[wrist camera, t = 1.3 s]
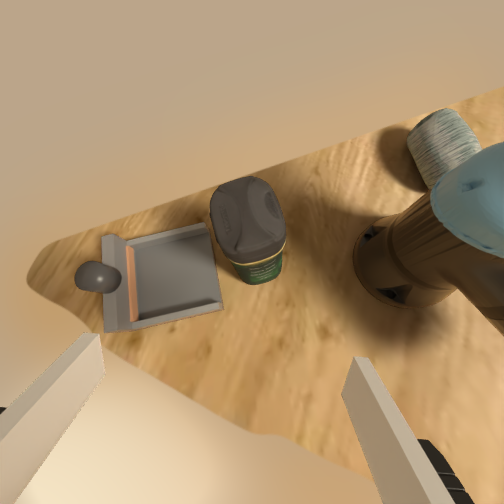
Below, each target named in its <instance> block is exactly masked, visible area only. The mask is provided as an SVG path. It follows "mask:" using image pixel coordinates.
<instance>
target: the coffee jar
mask: <svg viewBox="0 0 504 504" xmlns="http://www.w3.org/2000/svg"><path fill="white" fill-rule="evenodd" d="M210 218H211V221H212V225H213V229H214V232H215V237H216V240H217V242H218V243H219V245H220V247H221V249H222V251H223V253H224V254H225V256H226V257H227V258H228V259H229V260H230V261H231V262H232V264H233V266H234V267H235V269H236V271H237V272H238V274H239V276H240V277H241V279H242V280H243V281H244V282H245V283H247V284H250V285H258V284H262V283H266V282H269V281H271V280H273V279H275V278H276V277H277V276H278V275H279V274H280V272H281V267H282V251H283V247H284V245H285V242H286V225H285V220H284V217H283V213H282V210H281V207H280V205H279V202H278V200H277V198H276V196H275V194H274V191H273V189H272V188H271V187H270V185H269V184H268V183H266V182H265V181H263V180H262V179H260V178H257V177H253V176H248V177H244V178H240V179H236V180H233V181H230V182H227V183H224V184H222V185H220V186H219V187H218V188H217V189H216V190H215V192H214V193H213V195H212V197H211V200H210Z"/></svg>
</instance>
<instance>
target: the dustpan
mask: <svg viewBox="0 0 504 504" xmlns="http://www.w3.org/2000/svg"><path fill="white" fill-rule="evenodd" d="M101 240H102V263H99V262H96V261H88V262H86V263H84V264H82V265H81V266H80V267H79V268H78V270H77V271H76V274H75V284H76V286H77V287H78V288H79V289H81V290H86V291H92V292H98V293H103V313H104V333H114V332H128V331H135V330H140V329H144V328H148V327H152V326H157V325H161V324H165V323H169V322H174V321H178V320H182V319H186V318H191V317H195V316H199V315H203V314H208V313H212V312H216V311H220V310H224V307H223V302H222V296H221V291H220V285H219V280H218V274H217V269H216V263H215V257H214V252H213V246H212V241H211V235H210V230H209V228H208V227H207V225H206V224H205V222H202V223H198V224H194V225H189V226H185V227H181V228H177V229H173V230H169V231H165V232H161V233H157V234H153V235H149V236H144V237H140V238H136V239H132V240H128V241H126V240H124V239H122V238H120V237H119V236H117V235H115V234H110V235H106V236H102V237H101Z"/></svg>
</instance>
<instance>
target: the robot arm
mask: <svg viewBox="0 0 504 504" xmlns="http://www.w3.org/2000/svg"><path fill="white" fill-rule="evenodd" d="M353 263H354V268H355V271H356V274H357V276H358V278H359V280H360V282H361V283H362V285H363V286H364V287H365V288H366V289H367V290H368V291H369V292H370V293H371V294H372V295H373V296H374V297H376V298H377V299H379V300H380V301H382V302H384V303H386V304H389V305H392V306H395V307H400V308H420V307H426V306H430V305H433V304H436V303H438V302H440V301H442V300H443V299H445V298H446V297H447V296H449V295H450V294H451V293H453V292H454V291H455V290H456V289H459V290H460V291H461V292H462V293H463V294H464V295H465V296H466V298H467V299H468V300H469V301H470V302H471V303H472V304H473V305H474V306H475V307H476V308H477V309H478V310H479V311H480V312H481V313H482V314H483V315H484V316H485V317H486V318H487V319H488V321H489V322H490V323H491V324H492V325H493V326H494V327H495V328H496V329H497V330H498V331H499V332H500V333H501V334H502V335H503V336H504V142H501V143H498V144H495V145H492V146H490V147H487V148H485V149H483V150H481V151H479V152H478V153H476V154H474V155H473V156H471V157H470V158H469V159H467V160H466V161H465V162H463V163H462V164H461V165H459V166H458V167H456V168H454V169H452V170H450V171H449V172H447V173H446V174H444V175H443V176H442V177H441V178H440V179H439V180H438V181H437V182H436V184H435V185H434V187H433V188H432V189H430V190H429V191H428V192H427V193H426V194H424V195H423V196H422V197H421V198H420V199H418V200H417V201H416V202H415V203H413V204H412V205H411V206H410V207H409V208H407V209H406V210H405V211H404V212H403V213H399V214H396V215H392V216H388V217H385V218H382V219H380V220H378V221H376V222H374V223H373V224H371V225H370V226H369V227H368V228H367V229H366V230H365V231H364V232H363V233H362V234H361V235H360V237H359V238H358V240H357V242H356V244H355V247H354V252H353ZM104 376H105V368H104V362H103V355H102V348H101V342H100V335H99V334H95V333H83V334H82V335H81V336H80V337H79V338H78V339H77V340H76V341H75V342H74V343H73V344H72V345H71V346H70V347H69V348H68V349H67V350H66V351H65V352H64V353H63V354H62V355H61V356H60V357H58V359H57V360H55V361H54V362H53V363H52V364H51V365H50V366H49V367H48V368H47V369H46V370H45V371H44V372H43V373H42V374H41V375H40V376H39V377H38V378H37V379H36V380H35V381H34V382H33V383H32V384H31V385H30V386H29V387H28V388H27V389H26V390H25V391H24V392H23V393H22V394H21V395H20V396H19V397H18V398H17V399H16V400H15V401H14V402H13V403H12V404H11V405H10V406H9V407H8V408H4V407H0V504H14V503H15V502H16V500H17V499H18V497H19V496H20V495H21V493H22V492H23V490H24V489H25V487H26V486H27V485H28V483H29V482H30V480H31V479H32V478H33V476H34V475H35V473H36V472H37V471H38V469H39V468H40V466H41V465H42V464H43V462H44V461H45V459H46V458H47V456H48V455H49V454H50V452H51V451H52V449H53V448H54V446H55V445H56V444H57V442H58V441H59V440H60V438H61V437H62V435H63V434H64V432H65V431H66V430H67V428H68V427H69V425H70V424H71V423H72V421H73V419H74V418H75V417H76V416H77V414H78V413H79V411H80V410H81V408H82V407H83V406H84V404H85V403H86V401H87V400H88V399H89V397H90V396H91V394H92V393H93V392H94V390H95V389H96V387H97V386H98V385H99V383H100V382H101V380H102V379H103V377H104ZM341 395H342V398H343V400H344V403H345V405H346V408H347V411H348V413H349V416H350V418H351V421H352V424H353V426H354V429H355V432H356V434H357V437H358V439H359V442H360V445H361V447H362V450H363V452H364V455H365V458H366V460H367V463H368V465H369V468H370V471H371V473H372V476H373V478H374V481H375V484H376V486H377V488H378V491H379V494H380V497H381V499H382V502H383V504H474V502H473V501H472V499H471V497H470V496H469V494H468V493H466V492H465V488H464V487H463V485H462V484H461V482H460V481H459V479H458V478H457V477H456V476H455V473H454V472H453V470H452V468H451V467H450V465H449V464H448V462H447V461H446V459H445V458H444V456H443V455H442V454H441V453H440V452H439V451H438V450H437V449H436V448H435V447H434V446H433V445H432V443H431V442H430V441H429V440H423V439H416V437H415V435H414V434H413V432H412V430H411V429H410V427H409V425H408V424H407V422H406V420H405V419H404V417H403V415H402V414H401V412H400V410H399V409H398V407H397V405H396V404H395V402H394V400H393V399H392V397H391V395H390V393H389V392H388V390H387V388H386V387H385V385H384V383H383V382H382V380H381V378H380V377H379V375H378V373H377V372H376V370H375V368H374V367H373V365H372V363H371V362H370V360H369V358H366V357H355V356H354V357H353V360H352V363H351V366H350V369H349V372H348V375H347V378H346V381H345V385H344V388H343V391H342V394H341Z"/></svg>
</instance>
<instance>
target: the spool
mask: <svg viewBox="0 0 504 504" xmlns="http://www.w3.org/2000/svg"><path fill="white" fill-rule="evenodd" d="M407 147H408V149H409V150H410V153H411V154H412V156H413V159H414V161H415V163H416V165H417V168H418V170H419V172H420V174H421V176H422V178H423V181H424V182H425V184H426V186H427V187H428V189H429V190H430V189H432V188H433V187H434V185H435V184H436V182H437V181H438V180H439V179H440V178H441V177H442V176H443V175H444V174H446V173H447V172H449V171H450V170H452V169H454V168H456V167H458V166H459V165H461V164H462V163H463V162H465V161H466V160H467V159H469V158H470V157H471V156H473V155H474V154H476V153H478V152H479V151H481V150H482V148H481V146H480V144H479V141H478V139H477V137H476V136H475V134H474V133H473V131H472V130H471V128H470V127H469V126H468V124H467V123H466V122H465V121H464V120H463V119H462V118H461V117H460V116H459V115H458V113H457V112H456V111H454V110H452V109H447V108H445V109H441V110H438V111H436V112H434V113H432V114H430V115H428V116H427V117H425V118H424V119H423V120H421V121H420V122H419V123H418V124H417V125H416V126H415V127H414V128H413V129H412V130H411V132H410V133H409V135H408V137H407Z"/></svg>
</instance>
